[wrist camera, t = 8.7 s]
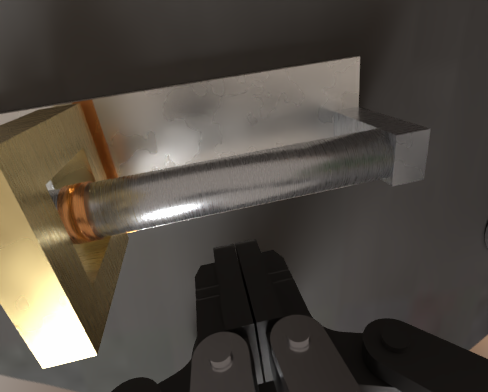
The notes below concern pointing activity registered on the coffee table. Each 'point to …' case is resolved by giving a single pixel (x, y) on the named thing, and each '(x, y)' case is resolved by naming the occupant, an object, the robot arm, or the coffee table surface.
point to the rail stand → (232, 147)
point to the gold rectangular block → (52, 238)
